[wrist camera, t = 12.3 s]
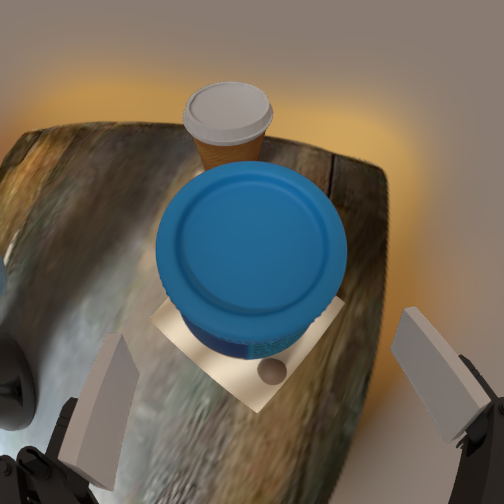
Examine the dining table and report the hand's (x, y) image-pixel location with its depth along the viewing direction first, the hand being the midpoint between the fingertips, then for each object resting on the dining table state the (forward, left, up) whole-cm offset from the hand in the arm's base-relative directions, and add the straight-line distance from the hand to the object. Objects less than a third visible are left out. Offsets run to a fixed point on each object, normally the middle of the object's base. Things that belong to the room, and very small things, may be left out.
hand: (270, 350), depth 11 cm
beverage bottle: (-3, +2, -16) cm, 16 cm away
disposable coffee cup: (-17, +15, -18) cm, 29 cm away
